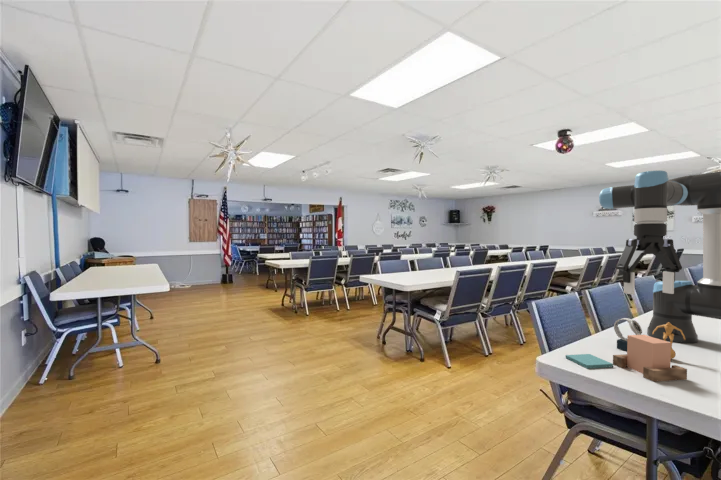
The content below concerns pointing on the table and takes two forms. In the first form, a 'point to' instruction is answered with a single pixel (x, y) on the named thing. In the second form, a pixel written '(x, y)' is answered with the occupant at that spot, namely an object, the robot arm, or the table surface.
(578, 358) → the teal pad
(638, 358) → the terracotta block
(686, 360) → the table surface
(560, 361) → the table surface
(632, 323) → the watch
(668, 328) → the figurine
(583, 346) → the table surface
